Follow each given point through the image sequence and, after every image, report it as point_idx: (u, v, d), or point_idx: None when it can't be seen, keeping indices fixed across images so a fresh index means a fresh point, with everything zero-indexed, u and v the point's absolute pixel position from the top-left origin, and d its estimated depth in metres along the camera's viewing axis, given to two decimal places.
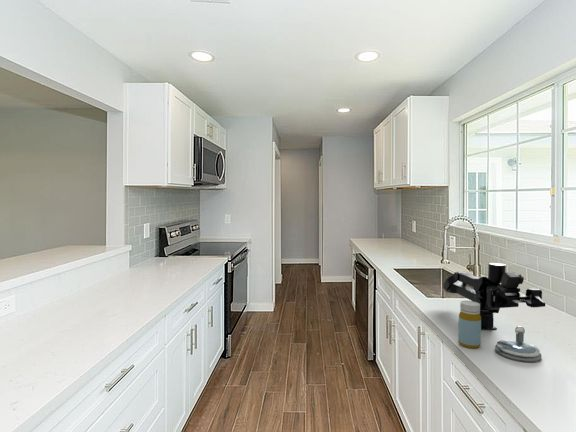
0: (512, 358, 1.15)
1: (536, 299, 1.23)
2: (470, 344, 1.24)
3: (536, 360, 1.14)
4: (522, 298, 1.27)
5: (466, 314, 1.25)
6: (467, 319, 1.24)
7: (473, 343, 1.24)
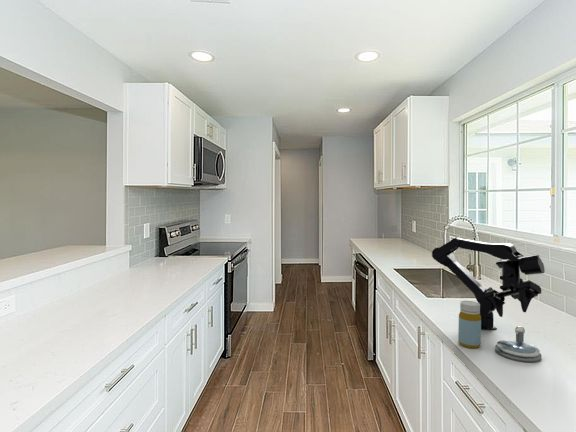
0: (512, 358, 1.15)
1: (501, 307, 1.34)
2: (470, 344, 1.24)
3: (536, 360, 1.14)
4: (505, 295, 1.34)
5: (466, 314, 1.25)
6: (467, 319, 1.24)
7: (473, 343, 1.24)
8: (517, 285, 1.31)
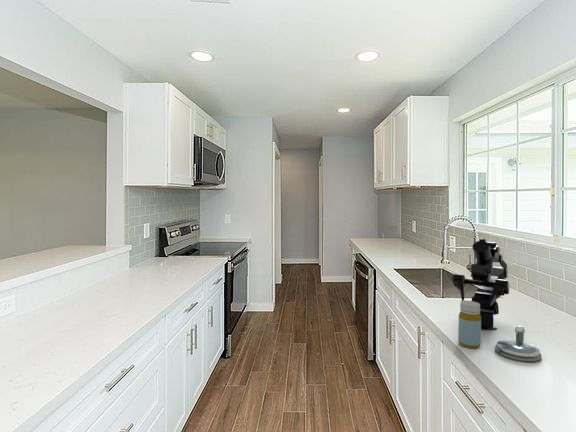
0: (512, 358, 1.15)
1: None
2: (470, 344, 1.24)
3: (536, 360, 1.14)
4: (487, 286, 1.34)
5: (466, 314, 1.25)
6: (467, 319, 1.24)
7: (473, 343, 1.24)
8: None
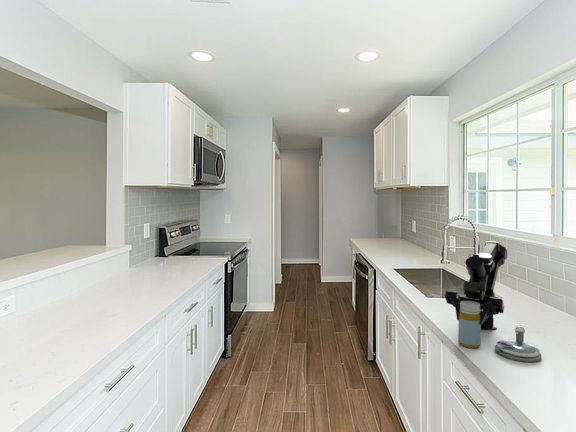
0: (512, 358, 1.15)
1: None
2: (470, 344, 1.24)
3: (536, 360, 1.14)
4: (481, 304, 1.28)
5: (466, 314, 1.24)
6: (467, 319, 1.24)
7: (473, 343, 1.24)
8: None
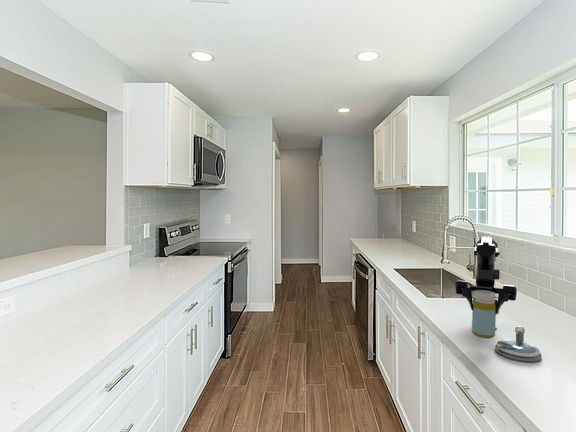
0: (512, 358, 1.15)
1: (497, 301, 1.22)
2: (486, 334, 1.21)
3: (536, 360, 1.14)
4: None
5: (483, 304, 1.21)
6: (484, 309, 1.20)
7: (489, 333, 1.20)
8: None
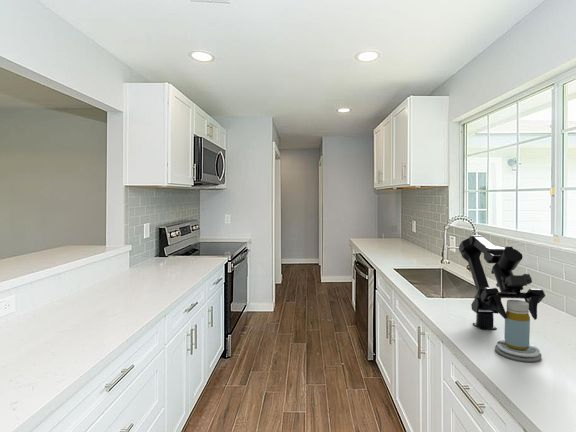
0: (512, 358, 1.15)
1: (532, 307, 1.19)
2: (525, 346, 1.16)
3: (536, 360, 1.14)
4: (520, 297, 1.23)
5: (521, 315, 1.16)
6: (523, 320, 1.16)
7: (527, 344, 1.17)
8: (501, 290, 1.25)
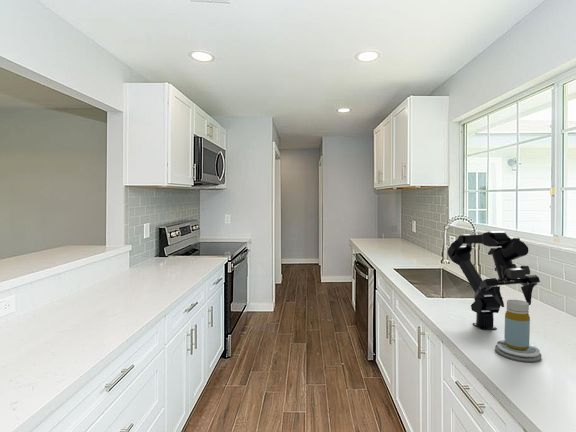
0: (512, 358, 1.15)
1: (527, 293, 1.29)
2: (525, 346, 1.16)
3: (536, 360, 1.14)
4: (517, 283, 1.31)
5: (521, 315, 1.16)
6: (523, 320, 1.16)
7: (527, 344, 1.17)
8: (499, 277, 1.33)
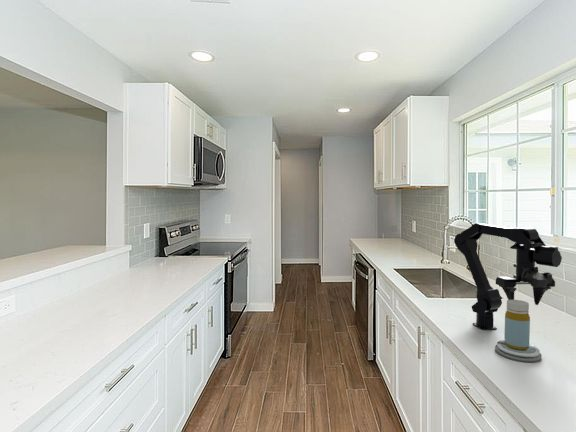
0: (512, 358, 1.15)
1: (538, 294, 1.30)
2: (525, 346, 1.16)
3: (536, 360, 1.14)
4: None
5: (521, 314, 1.16)
6: (523, 320, 1.16)
7: (527, 344, 1.17)
8: (516, 276, 1.30)
